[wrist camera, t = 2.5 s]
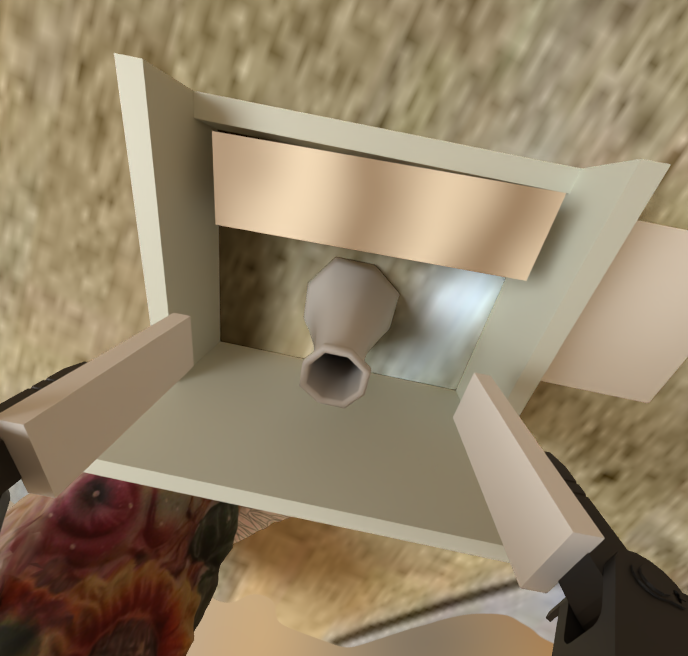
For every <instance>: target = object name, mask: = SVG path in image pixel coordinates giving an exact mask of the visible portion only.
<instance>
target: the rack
mask: <svg viewBox="0 0 688 656" xmlns="http://www.w3.org/2000/svg"><path fill="white" fill-rule="evenodd" d="M114 57H115V64H116V72H117V79H118V87H119V94H120V102H121V109H122V116H123V124H124V131H125V139H126V146H127V153H128V161H129V168H130V176H131V183H132V191H133V198H134V205H135V213H136V220H137V228H138V235H139V243H140V250H141V257H142V265H143V272H144V280H145V287H146V295H147V302H148V309H149V317H150V324H151V325H153V324H155V323H157V322H158V321H160V320H162V319H164V318H165V317H167V316H169V315H171V314H172V313H178V314H183V315H188V316H190V317H191V332H192V346H193V361H194V367H193V368H192V369H190V370H189V371H188V372H187V373H186V374H185V375H184V376H183V377H182V378H181V379H180V380H179V381H178V382H177V383H176V384H175V385H174V386H173V387H172V388H171V389H170V390H168V391H167V392H166V393H165V394H164V395H163V396H162V397H161V398H160V399H159V400H158V401H157V402H156V403H155V404H154V405H153V406H152V407H151V408H150V409H149V410H147V411H146V412H145V413H144V414H143V415H142V416H141V417H140V418H139V419H138V420H137V421H136V422H135V423H134V424H133V425H132V426H131V427H130V428H129V429H128V430H127V431H125V432H124V433H123V434H122V435H121V436H120V437H119V438H118V439H117V440H116V441H115V442H114V443H113V444H112V445H111V446H110V447H109V448H108V449H107V450H106V451H105V452H103V453H102V454H101V455H100V456H99V457H98V458H97V459H96V460H95V461H94V462H93V463H92V464H91V465H90V466H89V467H88V468H87V469H86V470H85V471H84V472H85V473H90V474H94V475H99V476H104V477H108V478H113V479H118V480H123V481H127V482H132V483H137V484H141V485H146V486H151V487H155V488H160V489H165V490H169V491H174V492H179V493H184V494H188V495H193V496H198V497H202V498H207V499H212V500H216V501H221V502H226V503H230V504H235V505H240V506H245V507H249V508H254V509H259V510H263V511H268V512H273V513H277V514H282V515H287V516H292V517H296V518H301V519H306V520H310V521H315V522H320V523H324V524H329V525H334V526H338V527H343V528H348V529H353V530H357V531H362V532H367V533H371V534H376V535H381V536H385V537H390V538H395V539H399V540H404V541H409V542H414V543H418V544H423V545H428V546H432V547H437V548H442V549H446V550H451V551H456V552H460V553H465V554H470V555H475V556H479V557H484V558H489V559H493V560H498V561H503V562H507V563H510V561H509V559H508V556H507V554H506V551H505V548H504V546H503V543H502V541H501V538H500V536H499V533H498V531H497V528H496V526H495V523H494V521H493V518H492V515H491V513H490V510H489V508H488V505H487V503H486V500H485V498H484V495H483V493H482V490H481V488H480V485H479V482H478V480H477V477H476V475H475V472H474V470H473V467H472V465H471V462H470V460H469V457H468V455H467V452H466V449H465V447H464V444H463V442H462V439H461V437H460V434H459V432H458V429H457V427H456V424H455V422H454V419H453V416H454V414H455V412H456V410H457V408H458V406H459V404H460V401H461V399H462V397H463V395H464V393H465V391H466V389H467V387H468V384H469V382H470V380H471V378H472V376H473V374H474V373H479V374H485V375H490V376H491V377H492V378H493V380H494V381H495V383H496V384H497V386H498V387H499V388H500V390H501V391H502V393H503V394H504V396H505V397H506V398H507V400H508V401H509V403H510V404H511V405H512V407H513V408H514V410H515V411H516V413H517V414H518V415H519V416H520V414H521V412H522V411H523V409H524V407H525V406H526V404H527V402H528V401H529V399H530V397H531V396H532V394H533V392H534V391H535V389H536V387H537V386H538V384H539V382H540V381H541V379H542V377H543V376H544V374H545V372H546V371H547V369H548V367H549V366H550V364H551V362H552V361H553V359H554V358H555V356H556V354H557V353H558V351H559V349H560V348H561V346H562V344H563V343H564V341H565V339H566V338H567V336H568V334H569V333H570V331H571V329H572V328H573V326H574V324H575V323H576V321H577V319H578V318H579V316H580V314H581V313H582V311H583V309H584V308H585V306H586V304H587V303H588V301H589V299H590V298H591V296H592V294H593V293H594V291H595V289H596V288H597V286H598V284H599V283H600V281H601V280H602V278H603V276H604V275H605V273H606V271H607V270H608V268H609V266H610V265H611V263H612V261H613V260H614V258H615V256H616V255H617V253H618V251H619V250H620V248H621V246H622V245H623V243H624V241H625V240H626V238H627V236H628V235H629V233H630V231H631V230H632V228H633V226H634V225H635V223H636V221H637V220H638V218H639V216H640V215H641V213H642V211H643V210H644V208H645V207H646V205H647V203H648V202H649V200H650V198H651V197H652V195H653V193H654V192H655V190H656V188H657V187H658V185H659V183H660V182H661V180H662V178H663V177H664V175H665V173H666V172H667V170H668V168H669V167H670V165H671V164H666V163H661V162H656V161H651V160H646V159H637V160H631V161H624V162H618V163H612V164H606V165H600V166H594V167H588V168H582V169H581V168H576V167H571V166H566V165H561V164H556V163H551V162H546V161H541V160H536V159H531V158H526V157H521V156H516V155H511V154H507V153H502V152H497V151H492V150H487V149H482V148H477V147H472V146H467V145H462V144H457V143H452V142H447V141H442V140H437V139H432V138H427V137H422V136H417V135H412V134H407V133H402V132H397V131H392V130H387V129H382V128H377V127H372V126H367V125H362V124H357V123H352V122H347V121H342V120H337V119H332V118H327V117H322V116H317V115H312V114H307V113H302V112H297V111H292V110H287V109H282V108H277V107H272V106H267V105H262V104H258V103H253V102H248V101H243V100H238V99H233V98H228V97H223V96H218V95H213V94H208V93H203V92H198V91H193V90H191V89H190V88H188V87H186V86H185V85H183V84H182V83H180V82H179V81H177V80H175V79H174V78H172V77H171V76H169V75H167V74H166V73H164V72H163V71H161V70H159V69H158V68H156V67H155V66H153V65H151V64H150V63H148V62H147V61H145V60H143V59H141V58H136V57H131V56H126V55H121V54H116V53H114ZM218 130H223V131H228V132H233V133H238V134H243V135H248V136H253V137H258V138H263V139H268V140H273V141H278V142H283V143H288V144H293V145H298V146H303V147H308V148H313V149H318V150H323V151H329V152H335V153H340V154H346V155H352V156H357V157H363V158H369V159H375V160H380V161H386V162H392V163H397V164H403V165H409V166H415V167H420V168H426V169H432V170H437V171H443V172H449V173H454V174H460V175H466V176H472V177H477V178H483V179H489V180H494V181H500V182H506V183H512V184H517V185H523V186H529V187H534V188H540V189H546V190H552V191H557V192H563V193H566V195H565V198H564V200H563V202H562V204H561V206H560V208H559V211H558V213H557V215H556V217H555V219H554V222H553V224H552V226H551V228H550V230H549V232H548V235H547V237H546V239H545V241H544V243H543V246H542V248H541V250H540V252H539V254H538V257H537V259H536V261H535V263H534V265H533V267H532V270H531V272H530V274H529V276H528V278H527V281H524V280H519V279H513V278H508V277H506V279H505V281H504V284H503V286H502V288H501V290H500V293H499V295H498V297H497V299H496V301H495V304H494V306H493V308H492V310H491V313H490V315H489V317H488V319H487V322H486V324H485V326H484V328H483V331H482V333H481V335H480V337H479V339H478V342H477V344H476V346H475V348H474V351H473V353H472V355H471V357H470V360H469V362H468V364H467V366H466V369H465V371H464V373H463V375H462V377H461V380H460V382H459V384H458V386H457V389H456V390H451V389H447V388H442V387H437V386H432V385H427V384H423V383H418V382H413V381H408V380H403V379H398V378H394V377H389V376H384V375H379V374H374V373H370V377H369V381H368V384H367V388H366V392H365V395H364V396H362V397H361V398H359V399H358V400H356V401H355V402H353V403H352V404H350V405H349V406H347V407H346V408H340V407H335V406H330V405H326V404H321V403H318V402H317V401H316V400H314V399H313V398H312V397H311V396H310V395H309V394H308V393H307V392H305V391H304V390H303V389H302V388H301V387H300V386H299V383H300V376H301V368H302V362H303V360H304V359H302V358H298V357H293V356H288V355H283V354H278V353H274V352H269V351H264V350H259V349H254V348H250V347H245V346H240V345H235V344H230V343H226V342H221V341H220V277H219V225H216V224H215V198H214V172H213V146H212V131H215V132H218Z"/></svg>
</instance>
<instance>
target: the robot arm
mask: <svg viewBox="0 0 688 656" xmlns="http://www.w3.org/2000/svg"><path fill="white" fill-rule="evenodd" d="M193 367H194V361H193V346H192V332H191V317H190V316H188V315H183V314H178V313H172V314H171V315H169V316H167V317H165V318H164V319H162V320H160V321H158V322H157V323H155V324H153V325H151V326H150V327H148V328H146V329H145V330H143V331H141V332H139V333H138V334H136V335H134V336H132V337H131V338H129V339H127V340H126V341H124V342H122V343H120V344H119V345H117V346H115V347H113V348H112V349H110V350H108V351H107V352H105V353H103V354H101V355H100V356H98V357H96V358H94V359H93V360H91V361H89V362H82V363H79V364H76V365H73V366H70V367H67V368H64V369H62V370H61V371H59V372H57V373H55V374H53V375H52V376H50V377H48V378H47V379H46V380H43V381H41V382H39V383H37V384H35V385H33V386H32V388H31V389H26V390H24V391H23V392H21V393H19V394H17V395H15V396H14V397H12V398H10V399H8V400H6V401H5V402H3V403H1V404H0V532H1V528H2V525H3V522H4V518H5V515H6V511H7V508H8V504H9V501H10V492H9V490H8V489H9V488H10V487H12V486H13V485H14V484H15V483H16V482H18V481H19V480H20V479H21V480H22V482H23V484H24V486H25V488H26V490H27V492H28V493H32V494H37V495H42V496H47V497H52V498H56V497H57V496H58V495H59V494H60V493H62V492H63V491H64V490H65V489H66V488H67V487H68V486H69V485H70V484H71V483H72V482H73V481H74V480H75V479H76V478H77V477H78V476H79V475H80V474H81V473H82V472H84V471H85V470H86V469H87V468H88V467H89V466H90V465H91V464H92V463H93V462H94V461H95V460H96V459H97V458H98V457H99V456H100V455H101V454H102V453H103V452H105V451H106V450H107V449H108V448H109V447H110V446H111V445H112V444H113V443H114V442H115V441H116V440H117V439H118V438H119V437H120V436H121V435H122V434H123V433H124V432H125V431H127V430H128V429H129V428H130V427H131V426H132V425H133V424H134V423H135V422H136V421H137V420H138V419H139V418H140V417H141V416H142V415H143V414H144V413H145V412H146V411H147V410H149V409H150V408H151V407H152V406H153V405H154V404H155V403H156V402H157V401H158V400H159V399H160V398H161V397H162V396H163V395H164V394H165V393H166V392H167V391H168V390H170V389H171V388H172V387H173V386H174V385H175V384H176V383H177V382H178V381H179V380H180V379H181V378H182V377H183V376H184V375H185V374H186V373H187V372H188V371H189V370H190V369H192V368H193ZM453 419H454V422H455V424H456V427H457V429H458V432H459V434H460V437H461V439H462V442H463V444H464V447H465V449H466V452H467V455H468V457H469V460H470V462H471V465H472V467H473V470H474V472H475V475H476V477H477V480H478V482H479V485H480V488H481V490H482V493H483V495H484V498H485V500H486V503H487V505H488V508H489V510H490V513H491V515H492V518H493V521H494V523H495V526H496V528H497V531H498V533H499V536H500V538H501V541H502V543H503V546H504V548H505V551H506V554H507V556H508V559H509V561H510V564H511V566H512V569H513V571H514V574H515V576H516V579H517V581H518V584H519V587H520V588H522V589H527V590H533V591H538V592H543V593H548V592H549V591H550V590H551V589H552V588H553V587H554V586H555V585H556V584H557V583H558V582H559V584H560V586H561V588H562V590H563V592H564V594H565V596H566V597H565V598H564V599H563V600H562V601H561V602H560V603H559V604H557V605H556V606H555V607H554V608H553V609H552V610H551V611H549V613H548V615H547V616H546V618H547V619H548V620H549V621H550V622H551V621H552V620H553V619H554V618H556V617H557V616H558V621H557V627H556V633H555V640H554V647H553V652H552V656H688V595H686V594H684V593H682V592H681V590H680V589H679V588H678V586H677V585H676V584H675V583H674V582H673V581H672V580H671V579H670V578H669V577H668V576H667V575H666V574H665V573H664V572H663V571H662V570H661V569H659V568H658V567H657V566H656V565H654V564H653V563H652V562H650V561H649V560H647V559H646V558H644V557H642V556H640V555H639V554H637V553H634V552H631V551H628V550H627V549H626V548H625V546H624V545H623V544H622V542H621V541H620V539H619V538H618V537H617V535H616V534H615V533H614V531H613V530H612V529H611V527H610V526H609V525H608V523H607V522H606V521H605V519H604V518H603V517H602V515H601V514H600V513H599V511H598V510H597V509H596V507H595V506H594V505H593V503H592V502H591V501H590V499H589V498H588V497H586V494H585V492H584V491H583V490H582V488H581V487H580V486H579V484H576V480H575V479H574V478H573V476H572V475H571V474H570V472H569V471H568V470H567V468H566V467H565V466H564V465H563V464H562V463H561V462H560V461H559V460H558V459H556V458H555V457H554V456H553V455H552V454H551V453H550V452H545V451H543V450H542V448H541V447H540V445H539V444H538V442H537V441H536V440H535V438H534V437H533V435H532V434H531V433H530V431H529V430H528V428H527V427H526V425H525V424H524V423H523V421H522V420H521V418H520V417H519V415H518V414H517V413H516V411H515V410H514V408H513V407H512V405H511V404H510V403H509V401H508V400H507V398H506V397H505V396H504V394H503V393H502V391H501V390H500V388H499V387H498V386H497V384H496V383H495V381H494V380H493V378H492V377H491V376H490V375H485V374H479V373H474V374H473V376H472V378H471V380H470V382H469V384H468V387H467V389H466V391H465V393H464V395H463V397H462V399H461V401H460V404H459V406H458V408H457V410H456V412H455V414H454V416H453Z"/></svg>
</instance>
